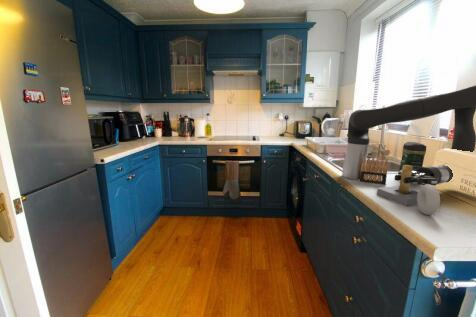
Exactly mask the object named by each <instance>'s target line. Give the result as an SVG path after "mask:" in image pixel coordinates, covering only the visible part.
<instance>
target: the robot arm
mask: <svg viewBox="0 0 476 317" xmlns="http://www.w3.org/2000/svg"><path fill="white" fill-rule="evenodd" d="M452 110H454V112H453V113H454V126H453V136H452V142H451V147H450V150H451V149H457V150H462V151H470V152H473V151H474V152H475V150H476V130H475V127H474V116H475V114H476V84H475V85H471V86H468V87H465V88H462V89H458V90H454V91H450V92H445V93H439V94H432V95H428V96H420V97H416V98H411V99H405V100H403V101H399V102H397V103H396V102H395V103H394V104H392V105H389V106H385V107H379V108H372V109H371V108H370V109H356V110H355V111H353V112H352V113H351V114H350V115H349V118H348V127H347V145H346V153H345V156H344V158H343V164H342V173H341V175H342V176H343V177H344V178H346V179H350V180H357V181H359V178H360V173H361V166H362V162H363V159H364V157H365V158H366V162H365V168H366V164H367V160H368V152H369V145H370V136H369V135H370V134H369V131H370V129H371V128H375V127H379V126H382V125H387V124H393V123H402V122H409V121H414V120H420V119H424V118H429V117H432V116H436V115H439V114H442V113H445V112H448V111H452ZM401 174H402V170H400V171H399V170H398V173H397V174H395V175H394V181H396V182H398V181H399V182H400V180H401ZM452 177H453V173H452V170H451V169H450V168H449V167H448V166H445V165H444V164H442V165H428V166H422V167H420V168H418V169H417V170H416V171H412V175H411V177H405V178H404V183H406V184H407V183H410V184H417V185H419V186H423V185H426V184H430V185H433V186H434V187H436V186H437V185H441V184H444V183H445V184H446V183H449V181H450V180H451V179H452Z"/></svg>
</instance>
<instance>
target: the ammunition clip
mask: <svg viewBox="0 0 476 317" xmlns="http://www.w3.org/2000/svg"><path fill="white" fill-rule="evenodd" d="M365 162H366V168H365ZM379 162H380V163H379ZM388 166H389V160H388V158H386V159H385V161H384V158H383V157H382V158H381V159H380V160H379V157H377V158H376V160H375V157H372V159H371V158H370V156H368V157H367V161H366V158H365V157H364V159H363V162H362V166H361V173H360V178H359V180H358V182H362V183H369V184H377V185H383V186H386V184H387V174H388V168H389V167H388Z"/></svg>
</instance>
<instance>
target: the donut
mask: <svg viewBox="0 0 476 317" xmlns="http://www.w3.org/2000/svg"><path fill="white" fill-rule="evenodd" d="M420 186H421V187H419V189H418V190H417V191H418V194H417V207H418V210H419V211H420V213H422V214H424V215H426V216H432V215H435V214H436V213H438V210H439V208H440V206H441V196H440V192H439V190H438V189H437V188H436V186H434V185H430V184H426V185H420Z"/></svg>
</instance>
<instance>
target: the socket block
mask: <svg viewBox="0 0 476 317" xmlns="http://www.w3.org/2000/svg"><path fill="white" fill-rule="evenodd" d="M399 186H400V184H399V185H393V186H385V187H378V188H377V191H376V195H377V196H380V197H384V198H386V199H388V200H391V201H393V202H396V203H398V204H401V205H402V204H403V206H405V207H409V206H410V207H411V206H415V205H417V206H418V204H417V194H418V191H419V190H414V189H412V188H409V191H408V194H406V195H405V194H402V193H399Z"/></svg>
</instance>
